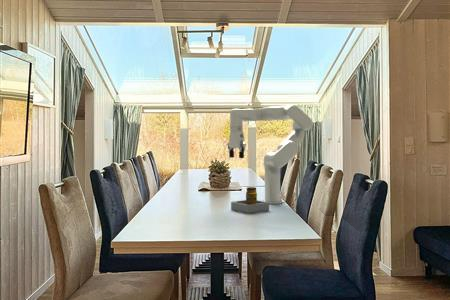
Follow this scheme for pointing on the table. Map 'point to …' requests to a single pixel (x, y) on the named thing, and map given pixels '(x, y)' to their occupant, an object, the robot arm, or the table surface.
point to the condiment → (251, 196)
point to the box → (249, 206)
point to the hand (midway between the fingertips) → (236, 157)
